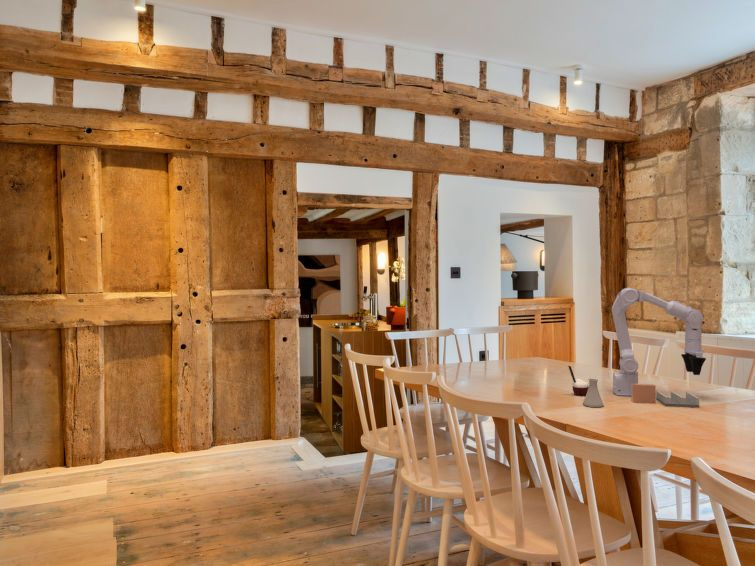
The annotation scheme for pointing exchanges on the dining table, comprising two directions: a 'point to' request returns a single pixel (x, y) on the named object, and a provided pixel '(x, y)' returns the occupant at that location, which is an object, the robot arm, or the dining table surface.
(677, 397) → the dish rack
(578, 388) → the cocoa
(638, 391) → the terracotta tile
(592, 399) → the flask
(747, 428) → the dining table surface
